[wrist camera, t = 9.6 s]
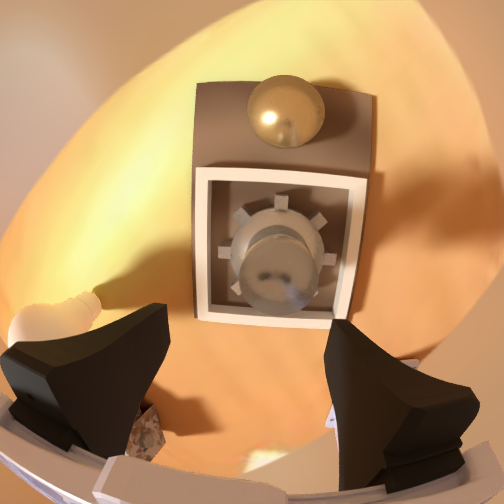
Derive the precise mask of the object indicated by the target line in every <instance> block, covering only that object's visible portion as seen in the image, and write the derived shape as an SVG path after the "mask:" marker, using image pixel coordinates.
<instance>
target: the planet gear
mask: <svg viewBox="0 0 504 504" xmlns="http://www.w3.org/2000/svg"><path fill="white" fill-rule="evenodd" d="M232 216H233V217H234V219H235V220H236V221H237V222H238V223H239V224H240V227H239V229H238V231H237V232H236V234H235V236H234V239H233V241H225V240H222V242H221V243H220V245H219V246H218V258H222V259H231V263H232V267H233V270H234V272H235V274H236V277H235V278H234V279H233V281H232V284H231V287H230V288H231V289H232V290H233V291H234V292H235V293H236V294H237V295H238V296H239V295H240V294H241V293H242V295H243V297H244V298H245V300H246V301H247V302H248V303H249V304H250V305H251V306H252V307H253V308H255V309H256V310H258V311H260V312H262V313H265V314H268V315H274V316H282V315H288V314H292V313H295V312H297V311H299V310H301V309H302V308H304V307H305V306H306V305H307V304H308V303H309V302H310V301H311V300H312V298H313V297H314V296H316V295H317V294H318V293H319V292H318V289H317V288H318V283H319V273H320V271H321V269H322V266H323V265H332V266H335V263H336V256H337V254H336V252H335V251H334V249H333V248H332V247H324V245H323V241H322V238H321V236H320V234H319V232H318V230H319V229H320V228H322V227H323V226H324V225H325V224H326V223H328V222H327V221H326V219H325V218H324V217H323V216H322V214H321V213H320V212H319V211H318V210H317V209H316V210H314V211H313V212H312V213H311V214H310V215H308V216H307V217H306V216H305V215H304V214H302V213H301V212H299V211H297V210H295V209H293V208H289V207H288V195H287V194H275V202H274V206H269V207H265V208H262V209H260V210H257V211H256V212H254V213H252V212H251V211H250V210H249V209H248V208H247V207H246V206H245V205H243V206H241V207H240V208H239V209H238V210H237V211H236V212H235V213H234V214H233V215H232Z"/></svg>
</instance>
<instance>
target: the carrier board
mask: <svg viewBox="0 0 504 504" xmlns="http://www.w3.org/2000/svg"><path fill="white" fill-rule="evenodd" d="M260 83H261V82H208V83H197V88H196V101H195V116H194V133H193V156H192V202H191V228H192V275H193V299H194V317H195V318H198V314H197V292H196V260H195V181H196V167H216V168H251V169H271V170H287V171H300V172H311V173H321V174H331V175H340V176H348V177H356V178H364V179H367V185H366V196H365V206H364V215H363V224H362V231H361V239H360V245H359V252H358V258H357V264H356V270H355V276H354V281H353V287H352V292H351V297H350V302H349V307H348V311H347V316H346V319H347V320H348V316H349V311H350V307H351V302H352V297H353V292H354V287H355V282H356V277H357V271H358V266H359V260H360V253H361V247H362V240H363V233H364V226H365V217H366V209H367V199H368V189H369V176H370V161H371V139H372V95H368V94H363V93H358V92H353V91H347V90H341V89H335V88H328V87H320V86H314V87H315V89H316V90H317V91H318V92H319V94H320V95H321V97H322V100H323V103H324V107H325V118H324V122H323V124H322V127H321V128H320V130H319V131H318V133H317V134H316V135H315V136H314V137H313V138H312V139H310V140H309V141H308V142H306V143H305V144H303V145H302V146H300V147H297V148H293V149H278V148H274V147H272V146H269V145H268V144H266V143H265V142H263V141H262V140H261V139H260V138H259V137H258V136H257V134H256V133H255V131H254V129H253V127H252V125H251V123H250V121H249V117H248V112H247V107H248V101H249V98H250V95H251V93H252V92H253V90H254V89H255V88H256V86H258V85H259V84H260ZM275 194H287V195H288V207H289V208H293V209H295V210H297V211H299V212H301V213H302V214H304V215H305V216H306V217H307V216H308V215H310V214H311V213H312V212H313V211H314V210H316V209H317V210H318V211H319V212H320V213H321V214H322V216H323V217H324V218H325V219H326V221H327V222H328V223H326V224H325V225H324V226H323V227H322V228H320V229H319V230H318V232H319V234H320V236H321V238H322V241H323V245H324V247H332V248H333V249H334V251H335V252H336V254H337V256H336V263H335V266H332V265H323V266H322V269H321V271H320V273H319V283H318V288H317V289H318V292H319V293H318V294H317V295H316V296H314V297H313V298H312V300H311V301H310V302H309V303H308V304H307V305H306V306H305V307H304V308H302V309H301V310H300V311H326V312H332V310H333V305H334V300H335V294H336V289H337V283H338V277H339V270H340V264H341V257H342V250H343V243H344V235H345V227H346V218H347V208H348V198H349V189H342V188H333V187H323V186H312V185H300V184H287V183H272V182H254V181H228V180H212V195H211V304H215V305H226V306H238V307H251V308H253V307H252V306H251V305H250V304H249V303H248V302H247V301H246V300H245V298H244V297H243V295H242V293H241V294H240V295H239V296H238V295H237V294H236V293H235V292H234V291H233V290H232V289H231V288H230V287H231V284H232V281H233V279H234V278H235V277H236V274H235V272H234V270H233V267H232V263H231V259H222V258H218V246H219V245H220V243H221V242H222V240H225V241H233V239H234V236H235V234H236V232H237V231H238V229H239V227H240V224H239V223H238V222H237V221H236V220H235V219H234V217H233V216H232V215H233V214H234V213H235V212H236V211H237V210H238V209H239V208H240V207H241V206H243V205H245V206H246V207H247V208H248V209H249V210H250V211H251V212H252V213H254V212H256V211H257V210H260V209H262V208H265V207H269V206H274V202H275Z"/></svg>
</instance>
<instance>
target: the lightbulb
mask: <svg viewBox="0 0 504 504" xmlns="http://www.w3.org/2000/svg"><path fill="white" fill-rule="evenodd" d="M101 310H102V306H101V302H100V300H99V298H98V297H97V296H96V295H95V294H94V293H92V292H90V291H84V292H82V293H81V294H79V295H78V296H76V297H74V298H69V299H67V300H66V301H64V302H62V303H59V304H33V305H30V306H27V307H24V308H23V309H21V310H20V311H19V312H18V313H17V314H16V316H15V317H14V318H13V320H12V322H11V325H10V328H9V332H8V346H9V348H10V347H11V346H12V345H13V344H14V343H16V342H17V341H46V340H54V339H61V338H66V337H70V336H75V335H79V334H83V333H86V332H87V331H88V330H89V329H90V328H91V326H92V323H93V321H94V320H95V319H96V318H97V317H98V315H99V314H100V313H101Z"/></svg>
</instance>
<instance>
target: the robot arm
mask: <svg viewBox="0 0 504 504" xmlns="http://www.w3.org/2000/svg"><path fill="white" fill-rule="evenodd" d="M170 342H171V341H170V333H169V324H168V314H167V304H160V303H152V304H150V305H147V306H145V307H143V308H141V309H139V310H137V311H135V312H133V313H131V314H129V315H127V316H125V317H123V318H121V319H119V320H117V321H114V322H112V323H110V324H108V325H105V326H103V327H100V328H98V329H95V330H92V331H89V332H86V333H83V334H79V335H75V336H70V337H66V338H61V339H54V340H46V341H17V342H16V343H14V344H13V345H12V346H11V347H10V348H9V349H7V350H6V351H5V352H4V353H3V354H2V355H1V356H0V365H1V368H2V371H3V373H4V375H5V377H6V379H7V381H8V383H9V384H10V386H11V388H12V390H13V392H14V393H15V395H16V397H17V399H16V401H15V402H13V401H12V400H11V399H10V398H9V397H8V396H7V395H5V394H4V393H3V392H1V391H0V461H1V462H2V463H4V464H5V465H6V466H7V467H8V468H9V469H10V470H12V471H13V472H14V473H15V474H16V475H18V476H19V477H20V478H21V479H23V480H24V481H25V482H26V483H28V484H29V485H30V486H32V487H33V488H34V489H36V490H37V491H39V492H40V493H41V494H43V495H44V496H46V497H47V498H49V499H50V500H52V501H53V502H55V503H56V504H485V503H486V502H487V501H489V500H490V499H491V498H493V497H494V496H495V495H497V494H498V493H499V492H500V491H501V490H503V489H504V472H503V470H502V468H501V465H500V463H499V461H498V459H497V457H496V455H495V453H494V451H493V450H492V447H491V446H490V444H489V442H488V441H485V442H483V443H481V444H479V445H477V446H474V447H472V448H470V449H468V450H467V451H465V452H464V453H461V451H460V447H461V446H462V444H463V443H462V441H461V439H460V437H461V435H462V434H463V433H464V432H465V431H466V429H467V428H468V427H469V426H470V424H471V423H472V422H473V420H474V419H475V417H476V416H477V413H478V411H479V408H480V402H479V401H478V399H477V398H476V396H475V394H474V393H473V391H472V390H471V388H470V387H466V386H462V385H457V384H453V383H449V382H445V381H443V380H439V379H436V378H434V377H431V376H429V375H426V374H424V373H422V372H420V371H418V370H417V368H418V366H419V364H420V362H419V360H418V359H409V360H397V359H396V358H394V357H393V356H391V355H390V354H388V353H387V352H386V351H384V350H383V349H382V348H380V347H379V346H378V345H376V344H375V343H374V342H373V341H371V340H370V339H369V338H368V337H367V336H366V335H364V334H363V333H362V332H361V331H360V330H359V329H357V328H356V327H355V326H354V325H353V324H352V323H350V322H349V321H348V320H347V319H332V323H331V328H330V332H329V336H328V341H327V345H326V349H325V353H324V364H325V373H326V378H327V383H328V387H329V391H330V395H331V399H332V403H333V404H332V407H331V410H330V412H329V415H328V417H327V420H326V423H325V426H326V427H334V429H335V434H336V440H337V446H338V452H339V490H338V492H330V493H317V494H289V495H288V494H286V492H285V491H284V490H282V489H280V488H278V487H275V486H273V485H270V484H268V483H262V482H256V481H250V480H243V479H234V478H225V477H218V476H211V475H205V474H200V473H194V472H189V471H184V470H180V469H175V468H171V467H167V466H163V465H159V464H156V463H152V462H149V461H145V460H142V459H139V458H134V457H129V456H125V451H126V448H127V444H128V440H129V437H130V433H131V430H132V427H133V424H134V421H135V418H136V415H137V413H138V410H139V407H140V405H141V402H142V400H143V398H144V396H145V394H146V392H147V390H148V388H149V386H150V384H151V383H152V381H153V379H154V377H155V375H156V374H157V372H158V370H159V368H160V366H161V364H162V363H163V361H164V359H165V356H166V353H167V351H168V348H169V345H170Z"/></svg>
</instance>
